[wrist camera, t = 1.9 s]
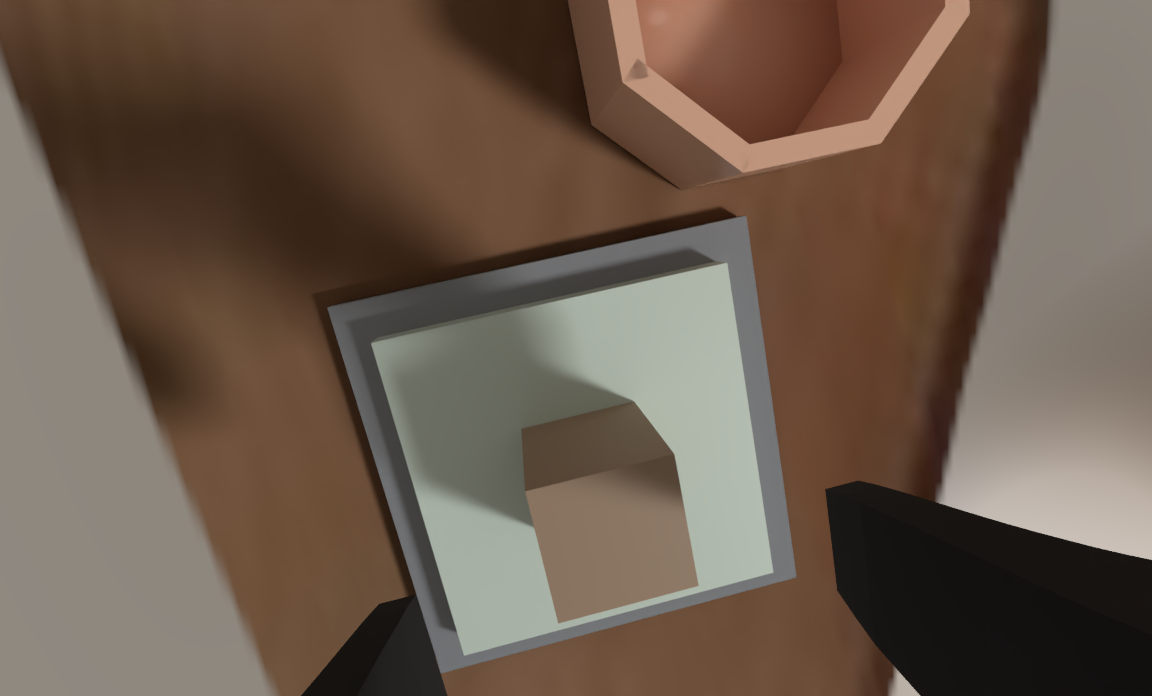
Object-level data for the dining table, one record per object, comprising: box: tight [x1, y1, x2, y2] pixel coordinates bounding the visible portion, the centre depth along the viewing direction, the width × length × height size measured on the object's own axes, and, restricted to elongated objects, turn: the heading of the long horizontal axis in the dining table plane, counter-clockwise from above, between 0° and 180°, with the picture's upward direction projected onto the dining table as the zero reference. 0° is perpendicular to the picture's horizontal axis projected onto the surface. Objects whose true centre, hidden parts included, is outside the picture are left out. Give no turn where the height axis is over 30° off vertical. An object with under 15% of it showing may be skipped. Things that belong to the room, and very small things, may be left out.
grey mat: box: [327, 216, 796, 673], centre depth 16 cm, size 11×11×1 cm
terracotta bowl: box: [568, 0, 970, 190], centre depth 12 cm, size 7×7×4 cm
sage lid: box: [371, 261, 773, 656], centre depth 13 cm, size 9×9×4 cm
